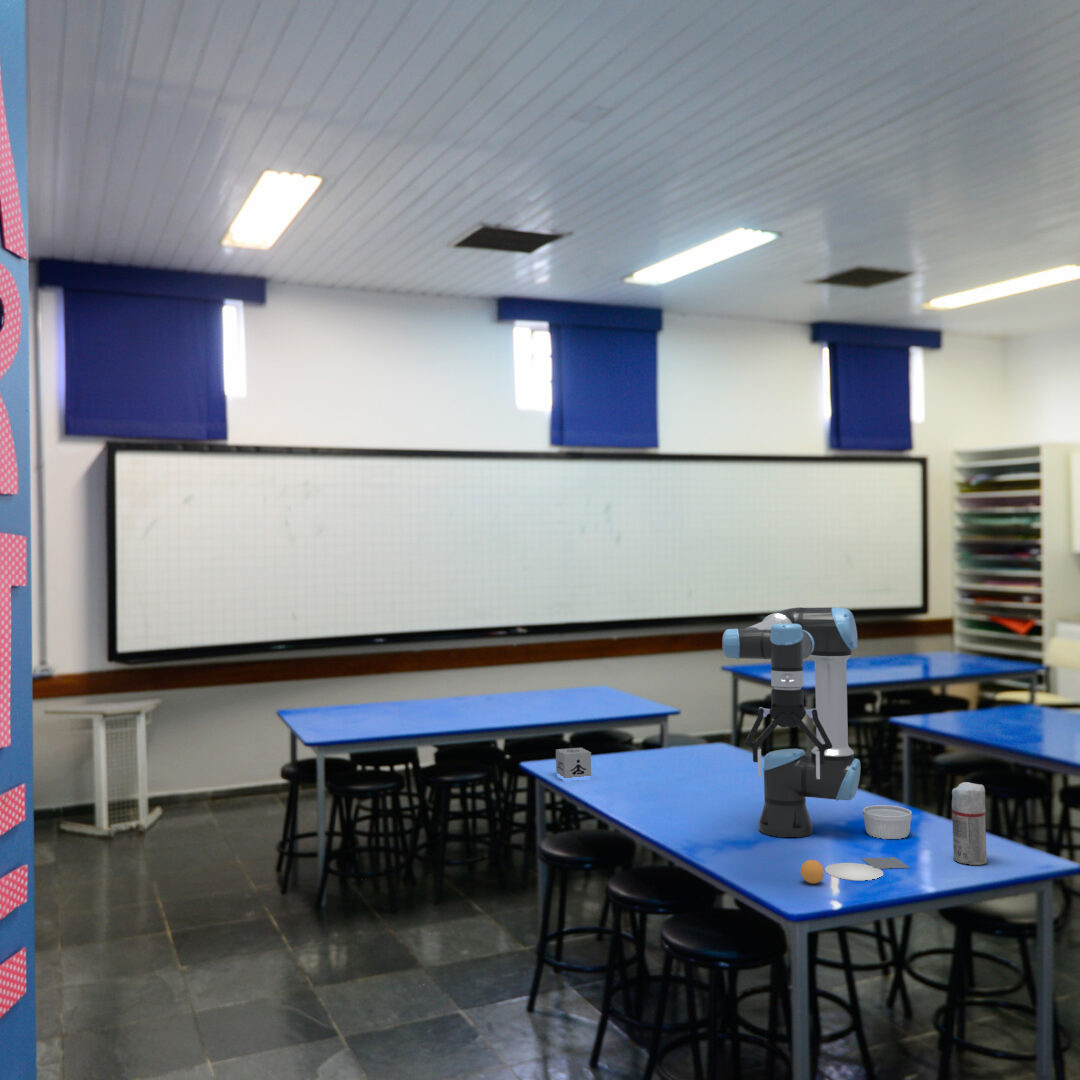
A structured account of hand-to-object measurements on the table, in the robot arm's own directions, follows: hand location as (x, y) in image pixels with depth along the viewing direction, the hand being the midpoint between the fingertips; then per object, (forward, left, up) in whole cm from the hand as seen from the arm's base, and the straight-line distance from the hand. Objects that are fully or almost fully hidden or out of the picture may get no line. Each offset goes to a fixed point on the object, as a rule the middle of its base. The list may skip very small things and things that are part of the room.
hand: (788, 777), depth 243 cm
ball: (-6, +4, -24) cm, 25 cm away
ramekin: (-58, +14, -27) cm, 65 cm away
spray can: (-40, +37, -27) cm, 61 cm away
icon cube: (-91, -100, -27) cm, 138 cm away
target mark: (-19, +11, -27) cm, 35 cm away
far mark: (-30, +17, -27) cm, 43 cm away
